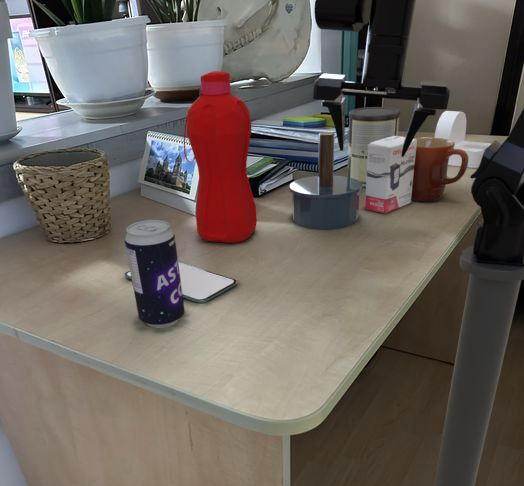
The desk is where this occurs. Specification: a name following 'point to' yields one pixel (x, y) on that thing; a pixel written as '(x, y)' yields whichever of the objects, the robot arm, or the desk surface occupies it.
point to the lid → (326, 176)
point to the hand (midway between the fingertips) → (371, 153)
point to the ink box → (389, 174)
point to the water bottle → (221, 161)
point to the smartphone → (200, 283)
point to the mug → (434, 168)
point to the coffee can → (368, 136)
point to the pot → (325, 211)
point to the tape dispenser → (459, 138)
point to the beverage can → (155, 272)
